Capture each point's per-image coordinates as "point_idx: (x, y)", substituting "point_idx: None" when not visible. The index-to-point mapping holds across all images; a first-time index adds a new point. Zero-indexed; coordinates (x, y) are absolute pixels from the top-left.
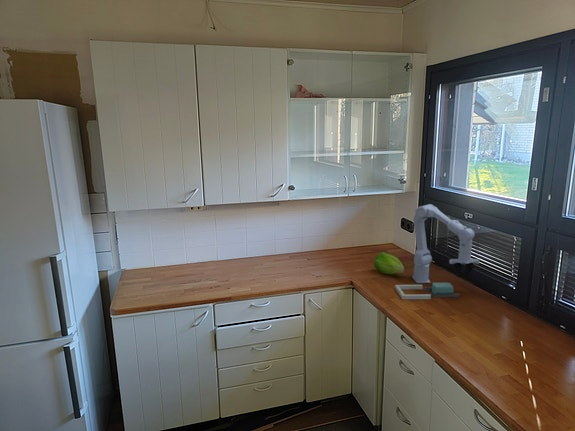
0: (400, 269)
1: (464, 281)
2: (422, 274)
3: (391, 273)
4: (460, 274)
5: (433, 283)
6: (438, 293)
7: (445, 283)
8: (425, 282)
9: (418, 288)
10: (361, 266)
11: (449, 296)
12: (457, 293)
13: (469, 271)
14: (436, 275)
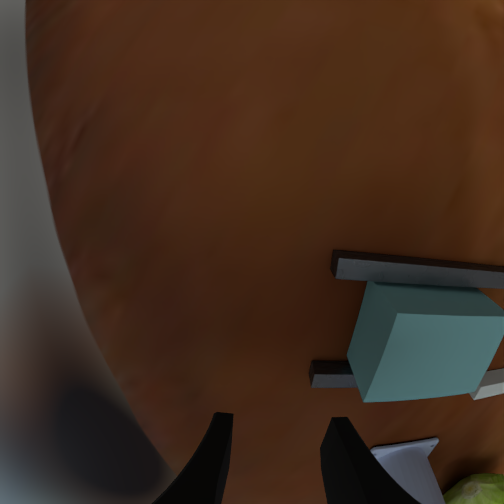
0: (482, 486)
1: (161, 446)
2: (427, 479)
3: (477, 474)
4: (344, 445)
5: (478, 380)
6: (475, 286)
7: (405, 388)
8: (400, 444)
9: (489, 374)
10: None
11: (410, 257)
12: (345, 276)
13: (200, 479)
14: (278, 499)
